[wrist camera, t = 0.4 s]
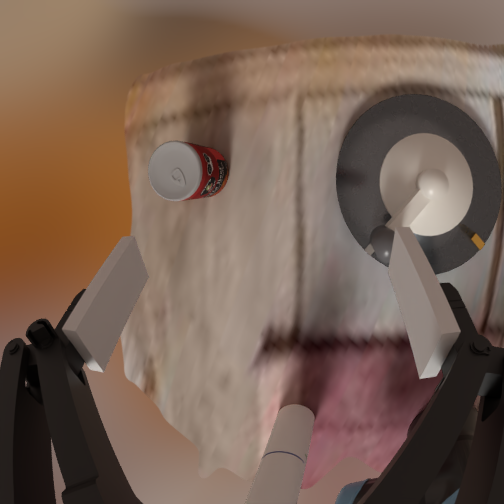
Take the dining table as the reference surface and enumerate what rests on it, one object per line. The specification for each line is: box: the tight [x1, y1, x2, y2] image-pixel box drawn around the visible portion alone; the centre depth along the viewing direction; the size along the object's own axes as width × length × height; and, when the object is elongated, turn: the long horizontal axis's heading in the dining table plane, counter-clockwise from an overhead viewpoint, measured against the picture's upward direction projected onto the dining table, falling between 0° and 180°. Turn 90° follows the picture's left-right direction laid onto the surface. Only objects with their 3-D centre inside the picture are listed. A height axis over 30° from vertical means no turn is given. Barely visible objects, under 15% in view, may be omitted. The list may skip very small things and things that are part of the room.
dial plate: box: [336, 94, 501, 274], centre depth 40 cm, size 26×26×2 cm
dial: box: [370, 133, 473, 263], centre depth 36 cm, size 19×14×8 cm
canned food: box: [148, 141, 228, 201], centre depth 44 cm, size 8×8×11 cm
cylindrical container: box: [245, 404, 315, 504], centre depth 42 cm, size 7×7×25 cm
